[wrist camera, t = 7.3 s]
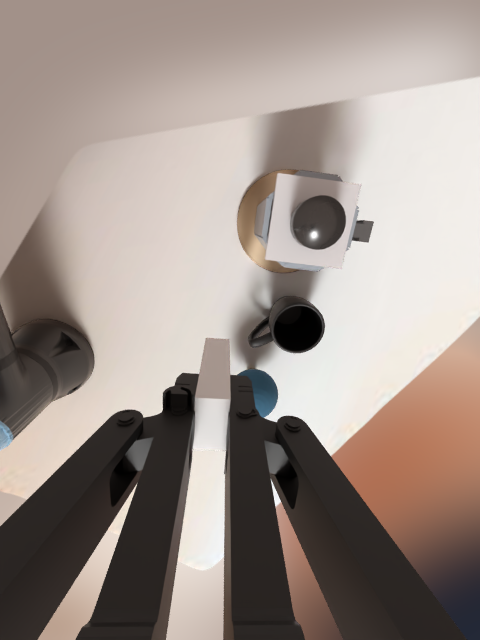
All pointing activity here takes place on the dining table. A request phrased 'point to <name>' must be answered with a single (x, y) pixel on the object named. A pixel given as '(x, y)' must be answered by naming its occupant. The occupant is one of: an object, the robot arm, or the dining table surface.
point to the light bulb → (262, 390)
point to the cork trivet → (248, 221)
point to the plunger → (317, 222)
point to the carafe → (282, 205)
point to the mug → (291, 326)
